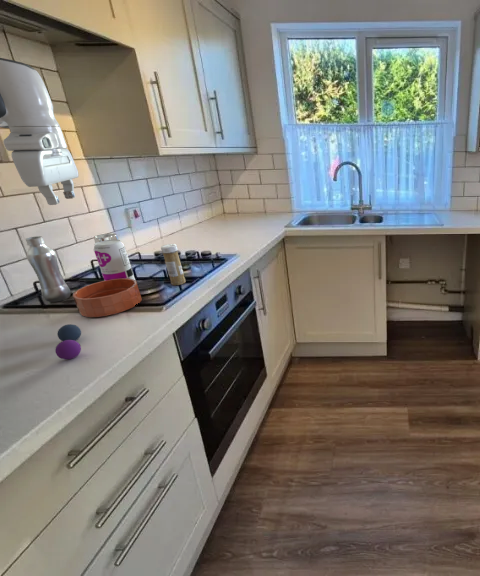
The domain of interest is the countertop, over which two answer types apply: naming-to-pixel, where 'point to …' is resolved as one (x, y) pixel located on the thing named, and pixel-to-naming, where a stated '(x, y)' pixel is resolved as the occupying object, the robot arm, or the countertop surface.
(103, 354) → the countertop surface
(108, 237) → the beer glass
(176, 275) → the sprinkles bottle
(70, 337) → the slate ball
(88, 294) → the bowl
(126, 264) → the supplement can
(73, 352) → the plum ball
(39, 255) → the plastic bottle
